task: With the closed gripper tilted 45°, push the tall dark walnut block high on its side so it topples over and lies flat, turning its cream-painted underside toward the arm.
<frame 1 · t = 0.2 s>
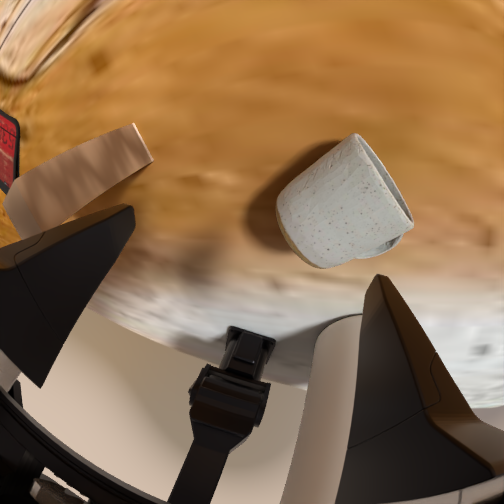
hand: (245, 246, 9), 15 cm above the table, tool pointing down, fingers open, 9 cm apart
cylinder vase: (362, 342, 32), on the table
walnut block: (129, 151, 25), on the table
ceramic mug: (354, 195, 22), on the table
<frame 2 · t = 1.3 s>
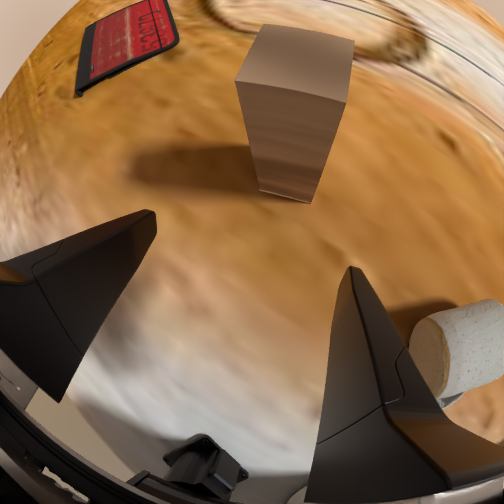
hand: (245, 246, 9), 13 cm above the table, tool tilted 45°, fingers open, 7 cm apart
walnut block: (291, 173, 23), on the table
ceramic mug: (439, 355, 20), on the table
binder: (127, 38, 29), on the table
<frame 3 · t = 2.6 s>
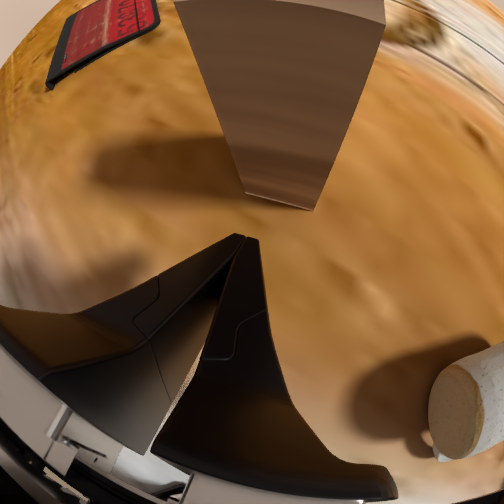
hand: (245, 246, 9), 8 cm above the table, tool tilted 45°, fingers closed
walnut block: (287, 171, 18), on the table
ceramic mug: (461, 398, 14), on the table
binder: (107, 25, 24), on the table
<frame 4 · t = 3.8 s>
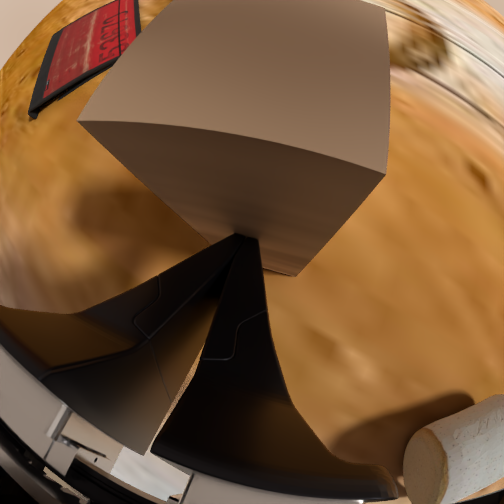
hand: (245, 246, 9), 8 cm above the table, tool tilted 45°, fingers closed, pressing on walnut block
walnut block: (270, 231, 17), on the table, touching gripper
ceramic mug: (440, 446, 14), on the table
binder: (91, 45, 24), on the table
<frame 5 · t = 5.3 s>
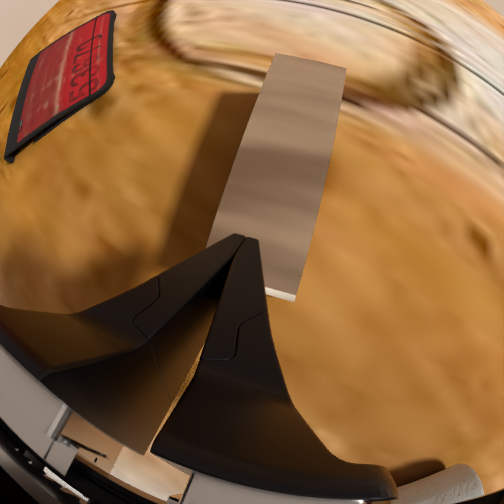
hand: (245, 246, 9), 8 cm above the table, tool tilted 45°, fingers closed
walnut block: (250, 287, 14), point 2 cm above the table, tilted 90°
ceramic mug: (407, 498, 13), on the table
binder: (66, 74, 23), on the table
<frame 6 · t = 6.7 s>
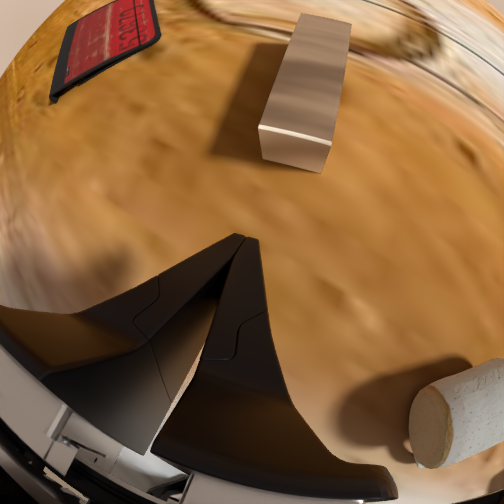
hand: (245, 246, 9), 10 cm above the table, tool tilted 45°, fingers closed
walnut block: (292, 152, 17), point 2 cm above the table, tilted 90°
ceramic mug: (442, 411, 16), on the table
binder: (108, 36, 25), on the table
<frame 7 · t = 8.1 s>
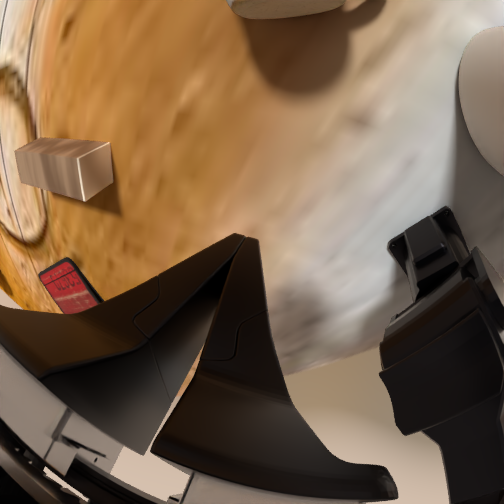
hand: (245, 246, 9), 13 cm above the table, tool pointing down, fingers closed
walnut block: (97, 171, 23), point 2 cm above the table, tilted 90°
binder: (76, 293, 46), on the table
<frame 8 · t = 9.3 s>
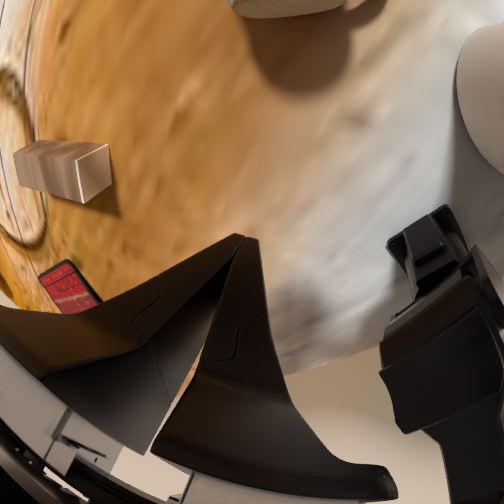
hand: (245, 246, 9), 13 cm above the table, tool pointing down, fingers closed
walnut block: (95, 173, 23), point 2 cm above the table, tilted 90°
binder: (76, 295, 46), on the table
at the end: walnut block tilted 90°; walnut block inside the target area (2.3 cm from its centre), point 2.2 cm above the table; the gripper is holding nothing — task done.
